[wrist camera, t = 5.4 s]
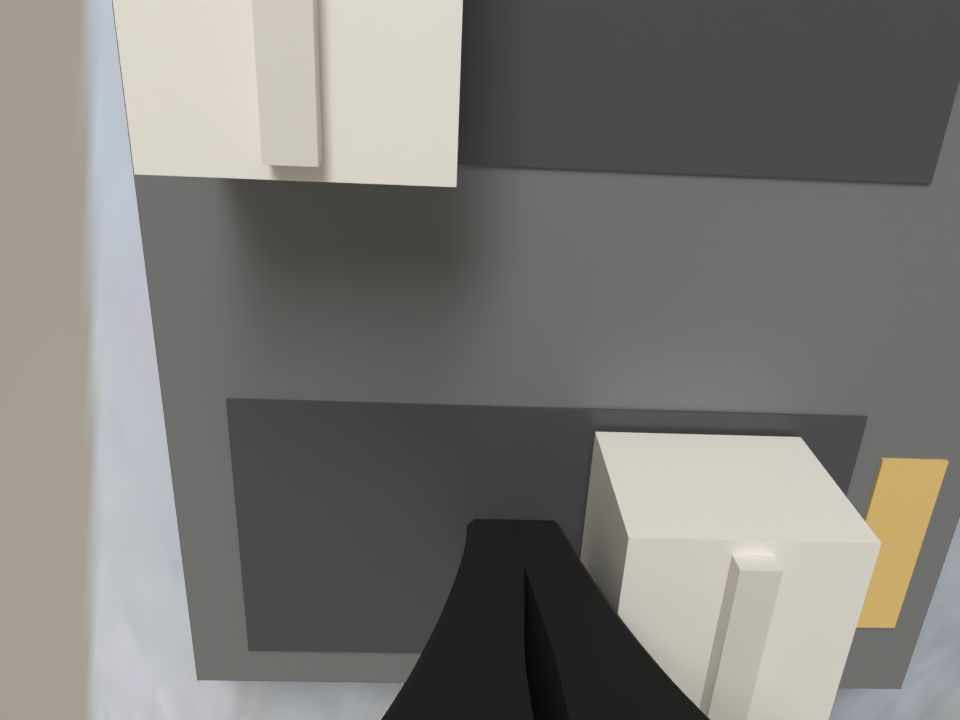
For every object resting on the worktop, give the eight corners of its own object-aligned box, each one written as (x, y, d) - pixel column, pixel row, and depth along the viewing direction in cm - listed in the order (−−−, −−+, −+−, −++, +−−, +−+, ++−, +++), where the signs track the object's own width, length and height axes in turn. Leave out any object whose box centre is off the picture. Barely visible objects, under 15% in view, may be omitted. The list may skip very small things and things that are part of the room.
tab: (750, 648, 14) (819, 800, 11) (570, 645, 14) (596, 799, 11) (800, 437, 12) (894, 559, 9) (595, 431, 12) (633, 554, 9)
